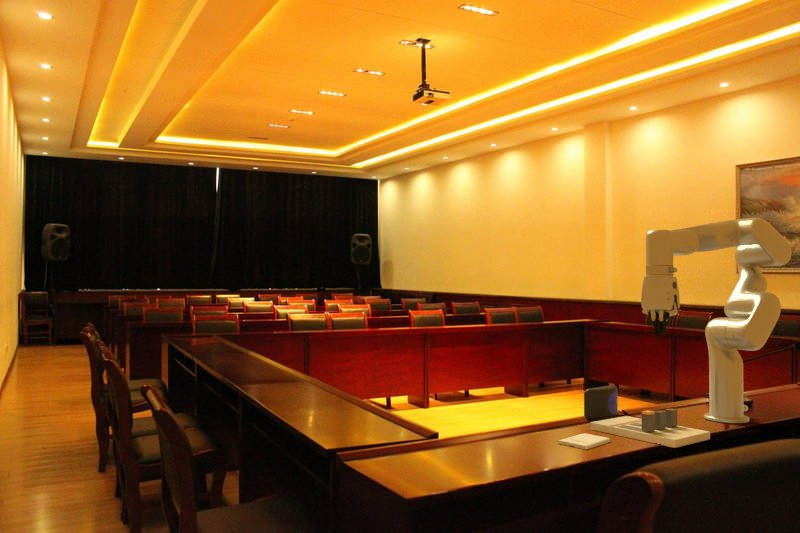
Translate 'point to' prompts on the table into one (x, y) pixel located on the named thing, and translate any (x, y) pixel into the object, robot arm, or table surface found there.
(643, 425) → the handle
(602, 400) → the dark olive rounded block
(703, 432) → the white flat board
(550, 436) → the table surface
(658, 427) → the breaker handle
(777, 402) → the table surface
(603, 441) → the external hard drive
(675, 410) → the breaker handle
